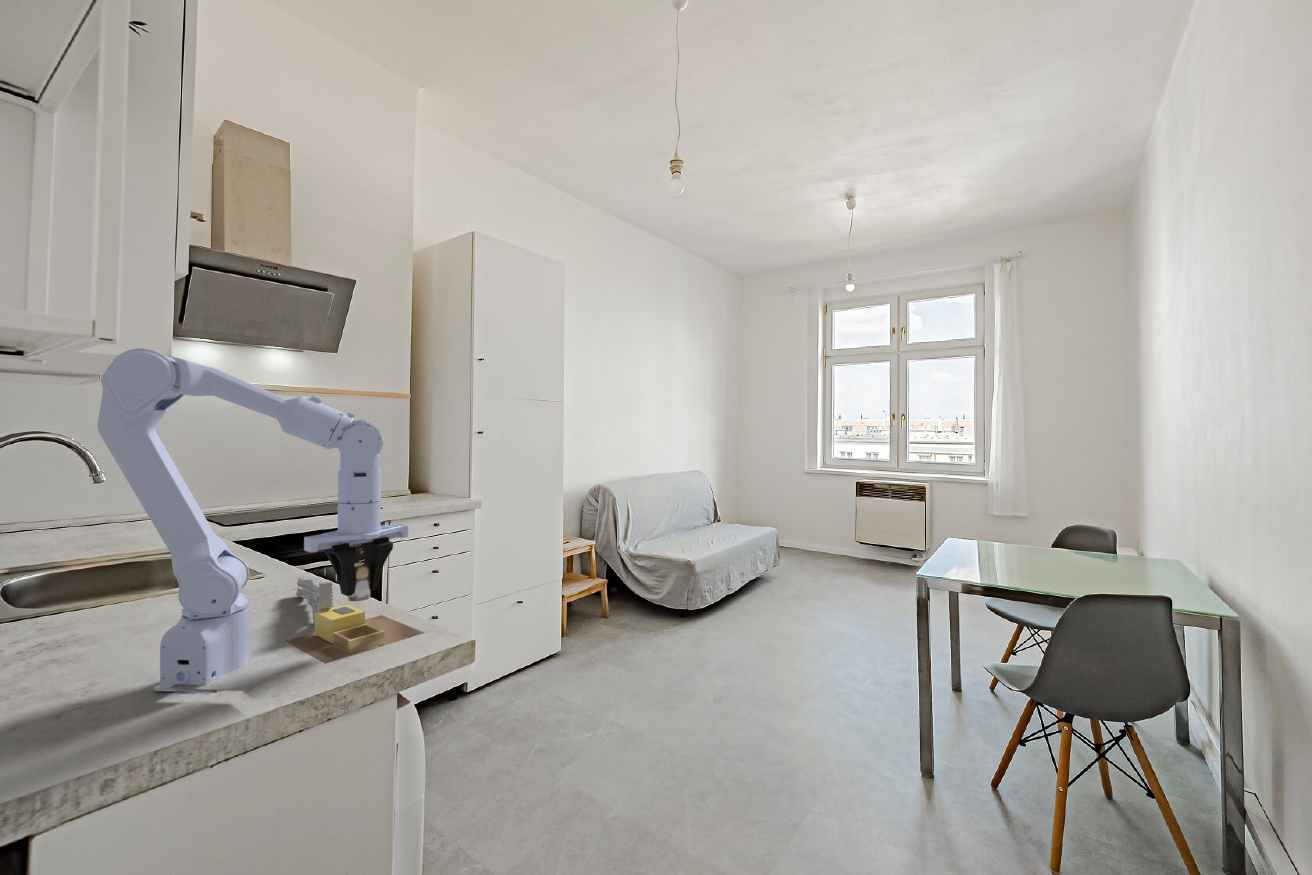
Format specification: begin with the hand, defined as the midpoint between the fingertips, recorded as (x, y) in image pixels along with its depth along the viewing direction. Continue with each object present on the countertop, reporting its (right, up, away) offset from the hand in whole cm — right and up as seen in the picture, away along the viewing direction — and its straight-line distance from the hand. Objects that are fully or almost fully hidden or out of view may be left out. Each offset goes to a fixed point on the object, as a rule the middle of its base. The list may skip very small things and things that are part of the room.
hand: (359, 591), depth 86 cm
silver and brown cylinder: (0, -1, 0) cm, 1 cm away
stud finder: (-5, -8, +4) cm, 10 cm away
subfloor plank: (-2, -9, +4) cm, 10 cm away
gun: (-16, -8, +16) cm, 24 cm away
